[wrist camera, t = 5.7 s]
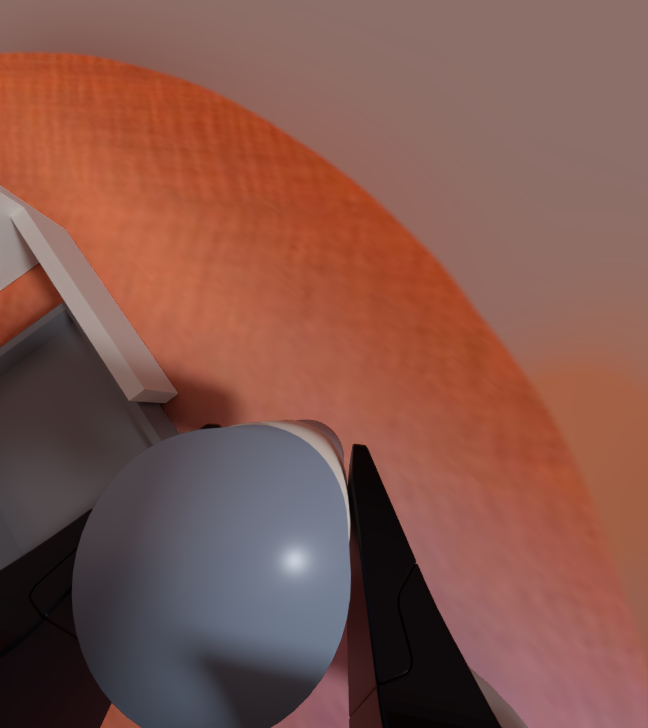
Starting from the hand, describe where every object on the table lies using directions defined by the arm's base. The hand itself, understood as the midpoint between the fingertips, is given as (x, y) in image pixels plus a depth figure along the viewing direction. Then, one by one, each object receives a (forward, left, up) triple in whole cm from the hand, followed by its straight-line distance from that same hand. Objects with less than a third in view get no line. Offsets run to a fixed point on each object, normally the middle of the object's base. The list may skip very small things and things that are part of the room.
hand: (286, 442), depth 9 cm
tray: (-15, +10, -13) cm, 22 cm away
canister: (-1, -1, -7) cm, 7 cm away
